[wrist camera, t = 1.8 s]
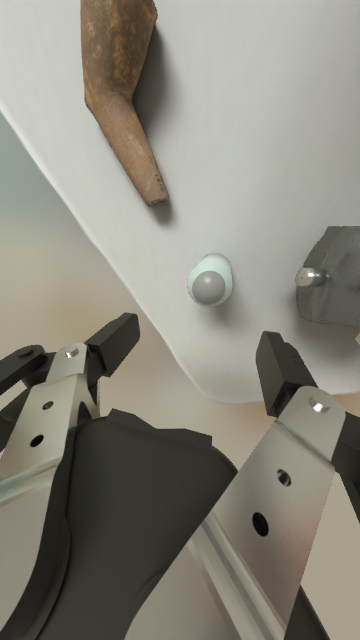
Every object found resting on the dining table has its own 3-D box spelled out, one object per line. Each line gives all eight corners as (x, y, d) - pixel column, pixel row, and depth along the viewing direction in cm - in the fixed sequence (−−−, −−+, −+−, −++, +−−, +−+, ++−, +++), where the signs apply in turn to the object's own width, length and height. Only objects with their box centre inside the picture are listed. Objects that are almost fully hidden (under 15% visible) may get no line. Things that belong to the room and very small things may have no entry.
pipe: (135, 218, 20) (203, 150, 14) (28, 34, 15) (69, -199, 9) (159, 215, 25) (218, 164, 19) (86, 76, 19) (137, -56, 14)
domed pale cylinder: (198, 252, 24) (185, 263, 17) (233, 253, 23) (237, 266, 16) (196, 285, 27) (184, 308, 19) (228, 287, 26) (228, 313, 18)
